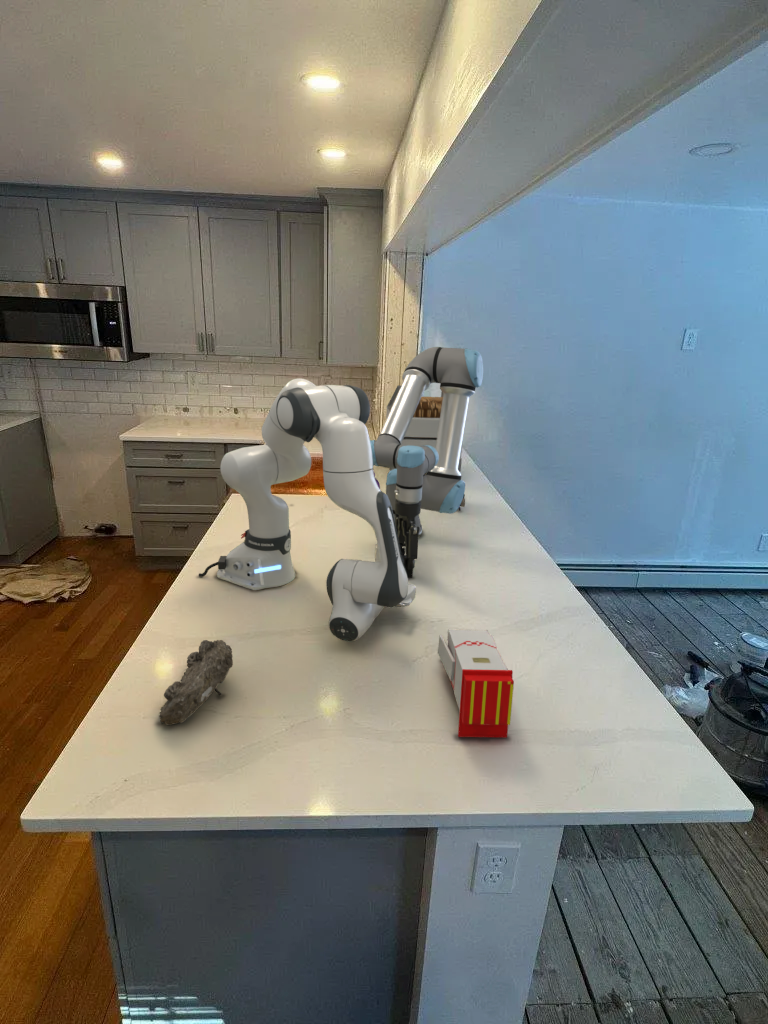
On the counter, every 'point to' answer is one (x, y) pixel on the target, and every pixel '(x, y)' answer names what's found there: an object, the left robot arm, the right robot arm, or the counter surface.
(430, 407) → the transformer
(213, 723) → the counter surface
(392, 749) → the counter surface
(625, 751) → the counter surface
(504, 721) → the toy
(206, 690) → the fossil
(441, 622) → the counter surface
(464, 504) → the figurine character
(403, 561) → the lid
